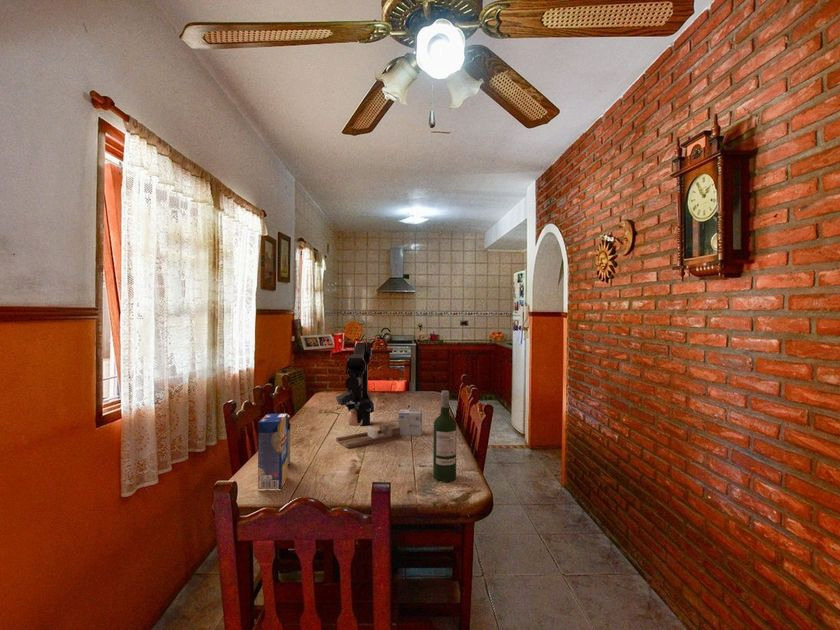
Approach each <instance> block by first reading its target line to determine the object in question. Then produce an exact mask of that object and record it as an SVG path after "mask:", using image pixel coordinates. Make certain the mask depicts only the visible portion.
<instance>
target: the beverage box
mask: <svg viewBox="0 0 840 630" xmlns="http://www.w3.org/2000/svg"><path fill="white" fill-rule="evenodd" d="M288 415H289V414H288V413H267V414H266V415H264V416H263V417H262V418H261V419H260V420H259V421H258V422H257V424H258V425H257V426H258V430H257V440H258V441H257V444H258V445H257V446H258V447H257V450H258V451H257V456H258V457H257V490H258V489H281V490H282V488H283V486H284V485H283V483H284V481H285V480H286V481H287V479H288V470H289V469H288V466H289V465H288ZM286 478H287V479H286ZM286 481H285V482H286ZM284 484H285V483H284ZM282 485H283V486H282ZM281 487H282V488H281Z"/></svg>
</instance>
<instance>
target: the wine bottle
mask: <svg viewBox="0 0 840 630" xmlns="http://www.w3.org/2000/svg"><path fill="white" fill-rule="evenodd" d="M440 396H441V397H440V398H441V399H440V400H441V401H440V414H439V415H438V416H437V417H436V418H435V420H434V422H433V443H432V444H433V454H432V457H433V458H432V459H433V461H432V463H433V464H432V465H433V466H432V467H433V468H432V470H433V472H432V476H433V480H435V479H436V480H438V481H437V482H439V481H444V482H443V483H449V482H448V481H451V482H453V480H454V481H455V480H456V479H457V422H456V419H455V418H454V417H453V416H452V415H451V414H450V392H449V390H441V392H440ZM436 480H435V481H436Z"/></svg>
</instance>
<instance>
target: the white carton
mask: <svg viewBox="0 0 840 630" xmlns="http://www.w3.org/2000/svg"><path fill="white" fill-rule="evenodd" d="M422 411H423V410H422V409H402V408H401V409H399V410H398V417H397V420H398V422H397V423H398V424H397V425H398V426H397V427H399V428H400V436H417V437H421V436H422V432H423V412H422Z"/></svg>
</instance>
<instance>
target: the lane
mask: <svg viewBox="0 0 840 630" xmlns="http://www.w3.org/2000/svg"><path fill="white" fill-rule="evenodd" d="M377 430H378V437H377V438H372V437H370V436H368V431H366V432H360V433H354V434H348V435H343V436H339V437H336V439H335V440H336V441H335V442H336V443H337V442H338V443H337V444H339V445H341V446H342V447H344V448H346V449H347V448H349V449H353V447H354V448H357V447H358V446H359V447H363V445H364V446H368V445H369V446H370V445H374V444H377V443H382V442H388V441H394V440H399V439H401V435H400V428H399V427H398V426H397V425H394V424H391V423H389V422H384V423H379V429H377Z"/></svg>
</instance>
